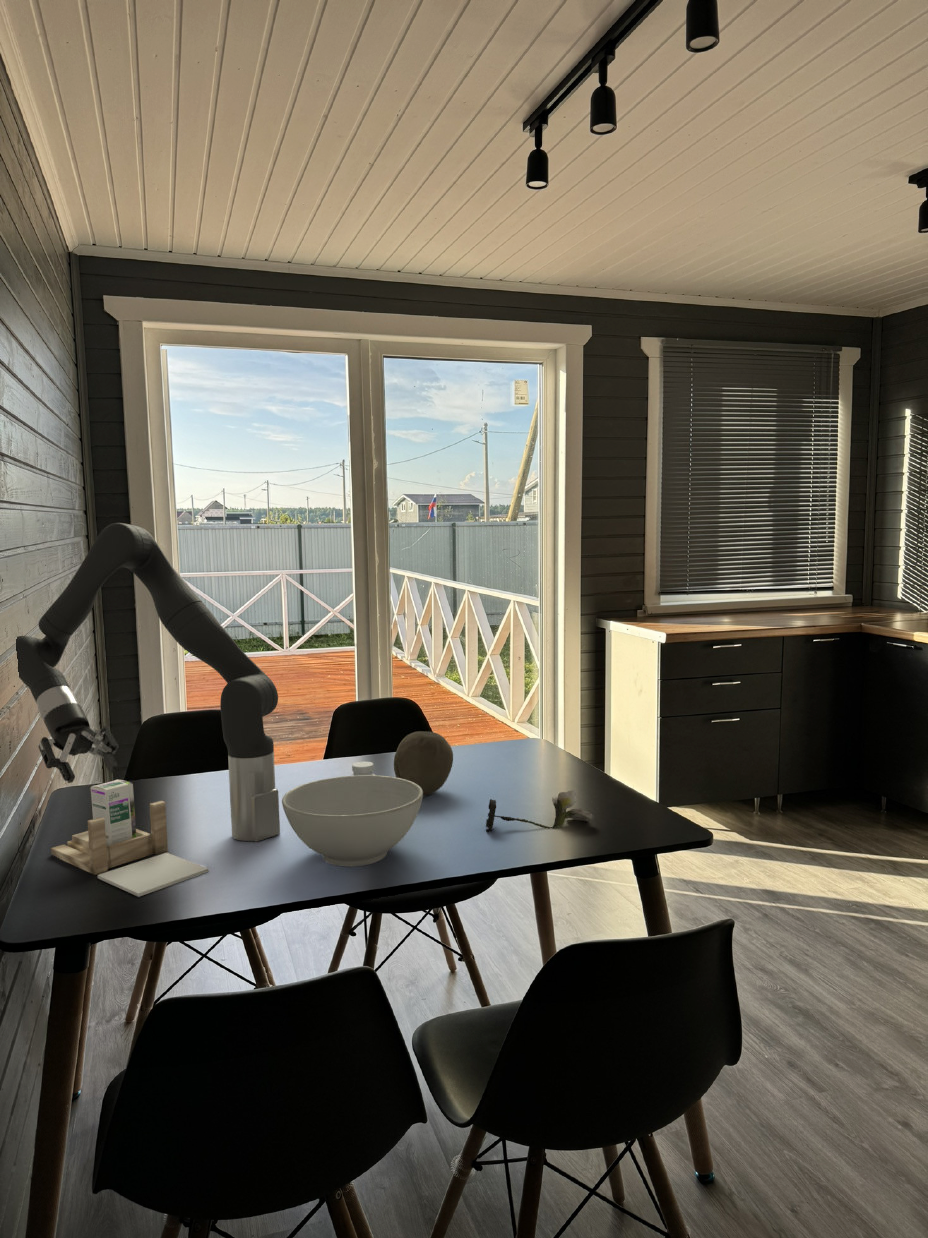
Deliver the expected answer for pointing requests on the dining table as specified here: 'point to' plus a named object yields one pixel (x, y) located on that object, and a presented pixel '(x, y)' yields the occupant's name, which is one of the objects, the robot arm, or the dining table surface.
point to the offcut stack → (78, 841)
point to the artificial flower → (560, 805)
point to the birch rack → (117, 844)
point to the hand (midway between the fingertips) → (93, 775)
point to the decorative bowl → (353, 816)
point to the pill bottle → (362, 768)
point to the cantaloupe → (424, 760)
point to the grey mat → (152, 874)
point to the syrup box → (115, 809)
